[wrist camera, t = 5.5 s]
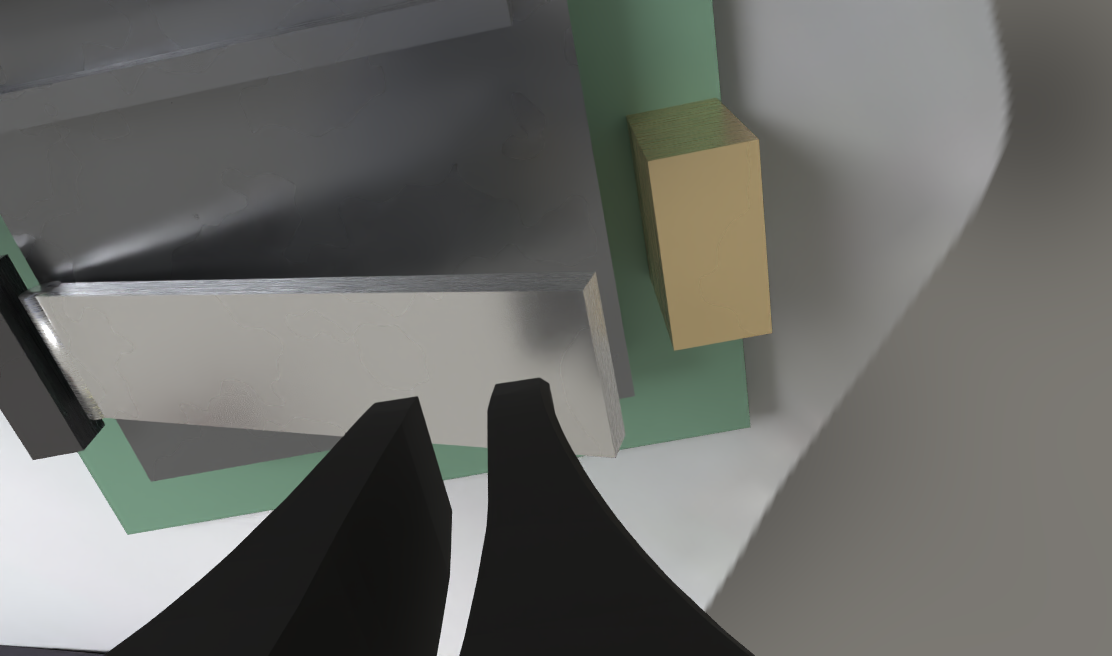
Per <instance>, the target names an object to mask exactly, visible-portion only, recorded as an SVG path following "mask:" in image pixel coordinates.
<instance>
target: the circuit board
mask: <svg viewBox="0 0 1112 656" xmlns="http://www.w3.org/2000/svg"><path fill="white" fill-rule="evenodd" d="M567 5H568V10H569V16H570V22H571V28H572V34H573V39H574V45H575V51H576V57H577V63H578V68H579V74H580V80H581V86H582V92H583V97H584V103H585V109H586V115H587V121H588V126H589V132H590V138H591V144H592V150H593V155H594V161H595V167H596V173H597V179H598V184H599V190H600V196H601V202H602V207H603V213H604V219H605V225H606V231H607V236H608V242H609V248H610V254H611V260H612V265H613V271H614V277H615V283H616V289H617V294H618V300H619V306H620V312H621V318H622V323H623V329H624V335H625V341H626V347H627V352H628V358H629V364H630V370H631V375H632V381H633V387H634V393H635V396H633V397H628V398H622V399H619V402H620V407H621V412H622V418H623V423H624V429H625V434H626V435H625V437H624V440H623V442H622V444H621V446H620V449H619V450H621V449H627V448H633V447H639V446H645V445H650V444H656V443H662V442H668V441H674V440H679V439H685V438H691V437H697V436H703V435H708V434H714V433H720V432H726V431H732V430H737V429H743V428H749V427H750V416H749V405H748V394H747V383H746V372H745V361H744V350H743V339H737V340H731V341H725V342H720V343H714V344H709V345H703V346H698V347H692V348H687V349H681V350H675V351H674V349H673V346H672V343H671V340H670V337H669V334H668V331H667V328H666V325H665V322H664V319H663V315H662V312H661V309H660V306H659V303H658V300H657V297H656V294H655V291H654V288H653V285H652V282H651V279H650V274H649V267H648V260H647V253H646V247H645V240H644V233H643V227H642V220H641V213H640V206H639V200H638V193H637V186H636V179H635V173H634V166H633V159H632V153H631V146H630V139H629V132H628V126H627V119H626V116H627V115H632V114H637V113H642V112H647V111H652V110H657V109H662V108H667V107H672V106H677V105H682V104H687V103H692V102H697V101H702V100H707V99H712V98H717V99H718V100H719V101H720V102H721V94H720V83H719V72H718V61H717V50H716V38H715V27H714V16H713V5H712V0H567ZM6 254H8V256H9V258H10V259H11V261H12V263H13V264H14V266H15V268H16V270H17V271H18V273H19V275H20V277H21V278H22V280H23V282H24V284H25V285H26V287H27V289H30V288H32V287H35V286H37V285H40V284H39V282H38V281H37V279H36V277H35V275H34V273H33V272H32V270H31V268H30V266H29V265H28V263H27V261H26V259H25V257H24V256H23V254H22V252H21V250H20V249H19V247H18V245H17V243H16V242H15V240H14V238H13V236H12V234H11V233H10V231H9V229H8V227H7V226H6V224H5V222H4V220H3V218H2V217H1V215H0V256H1V255H6ZM102 420H103V421H104V423H105V426H104V427H103V428H102V429H101V431H100V432H99V433H98V434H97V435H96V437H95V438H94V439H93V440H92V441H91V443H90V444H89V445H88V446H87V447H86V449H85V450H84V451H80V452H78V454H79V455H80V457H81V459H82V460H83V462H84V464H85V465H86V467H87V469H88V470H89V472H90V473H91V475H92V477H93V478H94V480H95V482H96V483H97V485H98V487H99V488H100V490H101V492H102V493H103V495H104V497H105V498H106V500H107V501H108V503H109V505H110V506H111V508H112V510H113V511H114V513H115V515H116V516H117V518H118V520H119V521H120V523H121V525H122V526H123V528H124V530H125V531H126V533H127V534H128V535H129V534H135V533H141V532H146V531H152V530H158V529H164V528H170V527H175V526H181V525H187V524H193V523H199V522H204V521H210V520H216V519H222V518H228V517H233V516H239V515H245V514H251V513H256V512H262V511H268V510H274V509H276V508H277V507H278V506H279V505H280V504H281V503H282V502H283V501H284V500H285V499H286V498H287V497H288V496H289V495H290V494H291V492H292V491H293V490H294V489H295V488H296V487H297V486H298V485H299V484H300V483H301V482H302V481H303V479H304V478H305V477H306V476H307V475H308V474H309V473H310V472H311V471H312V470H313V469H314V468H315V466H316V465H317V464H318V463H319V462H320V461H321V460H322V459H323V458H324V457H325V456H326V455H327V453H328V452H329V451H330V450H328V451H323V452H317V453H311V454H306V455H300V456H294V457H289V458H283V459H277V460H272V461H266V462H260V463H255V464H249V465H243V466H238V467H232V468H227V469H221V470H215V471H210V472H204V473H198V474H193V475H187V476H181V477H176V478H170V479H164V480H159V481H153V482H151V481H150V479H149V478H148V476H147V474H146V472H145V470H144V469H143V467H142V465H141V463H140V462H139V460H138V458H137V456H136V455H135V453H134V451H133V449H132V447H131V446H130V444H129V442H128V440H127V439H126V437H125V435H124V433H123V431H122V430H121V428H120V426H119V424H118V423H117V421H116V419H113V418H103V419H102ZM432 445H433V448H434V452H435V455H436V458H437V462H438V465H439V469H440V472H441V475H442V479H443V480H448V479H453V478H459V477H465V476H471V475H477V474H482V473H488V448H483V447H471V446H458V445H445V444H432ZM581 456H586V455H576V457H581Z"/></svg>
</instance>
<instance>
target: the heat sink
mask: <svg viewBox="0 0 1112 656" xmlns="http://www.w3.org/2000/svg"><path fill="white" fill-rule="evenodd" d="M626 119H627V126H628V132H629V139H630V146H631V153H632V159H633V166H634V173H635V179H636V186H637V193H638V200H639V206H640V213H641V220H642V227H643V233H644V240H645V247H646V253H647V260H648V267H649V274H650V279H651V282H652V285H653V288H654V291H655V294H656V297H657V300H658V303H659V306H660V309H661V312H662V315H663V319H664V322H665V325H666V328H667V331H668V334H669V337H670V340H671V343H672V346H673V349H674V351H675V350H681V349H687V348H692V347H698V346H703V345H709V344H714V343H720V342H725V341H731V340H737V339H742V338H748V337H753V336H759V335H764V334H770V333H772V323H771V308H770V293H769V279H768V264H767V250H766V235H765V221H764V206H763V192H762V177H761V162H760V148H759V139H758V138H757V137H756V136H755V135H754V134H753V133H752V132H751V131H750V130H749V129H748V128H747V127H746V126H745V125H744V124H743V123H742V122H741V121H740V120H739V119H738V118H736V117H735V116H734V115H733V114H732V113H731V112H730V111H729V110H728V109H727V108H726V107H725V106H724V105H723V104H722V103H721V102H720V101H719V100H718V99H717V98H712V99H707V100H702V101H697V102H692V103H687V104H682V105H677V106H672V107H667V108H662V109H657V110H652V111H647V112H642V113H637V114H632V115H627V116H626ZM0 215H1V217H2V218H3V220H4V222H5V224H6V226H7V227H8V229H9V231H10V233H11V234H12V236H13V238H14V240H15V242H16V243H17V245H18V247H19V249H20V250H21V252H22V254H23V256H24V257H25V259H26V261H27V263H28V265H29V266H30V268H31V270H32V272H33V273H34V275H35V277H36V279H37V281H38V282H39V284H43V283H47V282H52V281H60V282H61V283H82V282H130V281H177V280H225V279H273V278H320V277H368V276H416V275H463V274H511V273H558V272H596V277H597V282H598V288H599V293H600V299H601V304H602V310H603V315H604V320H605V326H606V331H607V337H608V342H609V347H610V353H611V358H612V364H613V369H614V374H615V380H616V385H617V391H618V396H619V399H622V398H628V397H633V396H635V393H634V387H633V381H632V375H631V370H630V364H629V358H628V352H627V347H626V341H625V335H624V329H623V323H622V318H621V312H620V306H619V300H618V294H617V289H616V283H615V277H614V271H613V265H612V260H611V254H610V248H609V242H608V236H607V231H606V225H605V219H604V213H603V207H602V202H601V196H600V190H599V184H598V179H597V173H596V167H595V161H594V155H593V150H592V144H591V138H590V132H589V126H588V121H587V115H586V109H585V103H584V97H583V92H582V86H581V80H580V74H579V68H578V63H577V57H576V51H575V45H574V39H573V34H572V28H571V22H570V16H569V10H568V5H567V0H0ZM26 290H28V289H27V287H26V285H25V284H24V282H23V280H22V278H21V277H20V275H19V273H18V271H17V270H16V268H15V266H14V264H13V263H12V261H11V259H10V258H9V256H8V254H6V255H1V256H0V409H1V411H2V412H3V414H4V416H5V417H6V419H7V420H8V422H9V423H10V425H11V426H12V428H13V430H14V431H15V433H16V434H17V436H18V437H19V439H20V440H21V442H22V444H23V445H24V447H25V448H26V450H27V451H28V453H29V454H30V456H31V457H32V459H33V460H36V459H41V458H47V457H52V456H58V455H63V454H69V453H74V452H80V451H84V450H85V449H86V447H87V446H88V445H89V444H90V443H91V441H92V440H93V439H94V438H95V437H96V435H97V434H98V433H99V432H100V431H101V429H102V428H103V427H104V426H105V423H104V421H103V420H102V419H99V420H91V419H89V418H88V416H87V415H86V413H85V411H84V409H83V408H82V406H81V404H80V403H79V401H78V399H77V397H76V396H75V394H74V392H73V391H72V389H71V387H70V385H69V384H68V382H67V380H66V379H65V377H64V375H63V373H62V372H61V370H60V368H59V367H58V365H57V363H56V361H55V360H54V358H53V356H52V355H51V353H50V351H49V349H48V348H47V346H46V344H45V343H44V341H43V339H42V337H41V336H40V334H39V332H38V331H37V329H36V327H35V325H34V324H33V322H32V320H31V319H30V317H29V315H28V313H27V312H26V310H25V308H24V307H23V305H22V303H21V301H20V300H19V298H18V297H19V295H20V294H21V293H23V292H25V291H26ZM116 421H117V423H118V424H119V426H120V428H121V430H122V431H123V433H124V435H125V437H126V439H127V440H128V442H129V444H130V446H131V447H132V449H133V451H134V453H135V455H136V456H137V458H138V460H139V462H140V463H141V465H142V467H143V469H144V470H145V472H146V474H147V476H148V478H149V479H150V481H151V482H153V481H159V480H164V479H170V478H176V477H181V476H187V475H193V474H198V473H204V472H210V471H215V470H221V469H227V468H232V467H238V466H243V465H249V464H255V463H260V462H266V461H272V460H277V459H283V458H289V457H294V456H300V455H306V454H311V453H317V452H323V451H328V450H331V449H332V448H333V447H334V446H335V445H336V443H337V442H338V441H339V440H340V439H341V438H342V437H343V436H330V435H317V434H304V433H292V432H279V431H266V430H253V429H240V428H228V427H215V426H202V425H189V424H177V423H164V422H151V421H138V420H125V419H116Z"/></svg>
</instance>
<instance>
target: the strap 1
mask: <svg viewBox="0 0 1112 656" xmlns="http://www.w3.org/2000/svg"><path fill="white" fill-rule="evenodd" d="M18 298H19V300H20V301H21V303H22V305H23V307H24V308H25V310H26V312H27V313H28V315H29V317H30V319H31V320H32V322H33V324H34V325H35V327H36V329H37V331H38V332H39V334H40V336H41V337H42V339H43V341H44V343H45V344H46V346H47V348H48V349H49V351H50V353H51V355H52V356H53V358H54V360H55V361H56V363H57V365H58V367H59V368H60V370H61V372H62V373H63V375H64V377H65V379H66V380H67V382H68V384H69V385H70V387H71V389H72V391H73V392H74V394H75V396H76V397H77V399H78V401H79V403H80V404H81V406H82V408H83V409H84V411H85V413H86V415H87V416H88V418H89V419H91V420H99V419H103V418H113V419H125V420H138V421H151V422H164V423H177V424H189V425H202V426H215V427H228V428H240V429H253V430H266V431H279V432H292V433H304V434H317V435H330V436H344V435H345V433H346V432H347V431H348V430H349V429H350V428H351V427H352V426H353V425H354V423H355V422H356V421H357V420H358V419H359V418H360V417H361V416H362V415H363V414H364V413H365V412H366V411H367V410H368V409H369V408H370V407H371V406H372V405H373V404H374V403H376V402H383V401H389V400H396V399H402V398H409V397H415V396H418V398H419V401H420V405H421V408H422V411H423V415H424V418H425V421H426V425H427V428H428V432H429V435H430V438H431V442H432V444H445V445H458V446H471V447H483V448H487V409H488V406H489V402H490V398H491V395H492V392H493V389H494V387H495V384H499V383H506V382H512V381H519V380H525V379H532V378H538V377H540V378H542V379H543V380H545V381H546V382H548V383H549V384H550V389H551V394H552V399H553V404H554V409H555V414H556V416H557V419H558V421H559V424H560V426H561V428H562V431H563V433H564V435H565V437H566V439H567V441H568V442H569V444H570V446H571V448H572V450H573V451H574V453H575V455H586V456H598V457H611V458H616V455H617V453H618V451H619V449H620V446H621V444H622V442H623V440H624V437H625V435H626V434H625V429H624V423H623V418H622V412H621V407H620V402H619V396H618V391H617V385H616V380H615V374H614V369H613V364H612V358H611V353H610V347H609V342H608V337H607V331H606V326H605V320H604V315H603V310H602V304H601V299H600V293H599V288H598V282H597V277H596V272H558V273H511V274H463V275H416V276H368V277H320V278H273V279H225V280H177V281H130V282H82V283H61V282H60V281H52V282H47V283H43V284H40V285H37V286H35V287H32V288H30V289H28V290H26V291H25V292H23V293H21V294H20V295H19V297H18Z"/></svg>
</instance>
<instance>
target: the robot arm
mask: <svg viewBox="0 0 1112 656" xmlns="http://www.w3.org/2000/svg"><path fill="white" fill-rule="evenodd" d="M487 448H488V514H487V527H486V533H485V539H484V545H483V550H482V556H481V561H480V567H479V573H478V578H477V583H476V588H475V592H474V597H473V601H472V606H471V610H470V615H469V619H468V624H467V628H466V633H465V637H464V641H463V644H462V648H461V652H460V655H459V656H755V655H754V654H752V653H751V652H750V651H749V650H747V649H746V648H745V647H744V646H743V645H741V644H740V643H739V642H738V641H737V640H735V639H734V638H733V637H732V636H731V635H729V634H728V633H727V632H726V631H725V630H724V629H722V628H721V627H720V626H719V625H718V624H717V623H716V622H715V621H714V620H713V619H712V618H711V617H710V616H709V615H708V614H707V613H705V612H704V611H703V610H702V609H701V608H700V607H699V606H698V605H697V604H696V603H695V602H694V601H693V600H692V599H691V598H690V597H688V596H687V595H686V594H685V593H684V592H683V591H682V590H681V589H680V588H679V587H678V586H677V585H676V584H675V583H674V582H673V581H672V580H671V579H670V578H669V577H668V576H667V575H666V574H665V573H664V572H663V571H662V570H661V569H660V568H659V566H658V565H657V564H656V563H655V562H654V561H653V560H652V559H651V558H650V557H649V556H648V554H647V553H646V552H645V551H644V550H643V549H642V548H641V546H640V545H639V544H638V543H637V542H636V540H635V539H634V538H633V537H632V536H631V535H630V533H629V532H628V531H627V530H626V529H625V527H624V526H623V525H622V523H621V522H620V521H619V520H618V518H617V517H616V516H615V514H614V513H613V512H612V510H611V509H610V508H609V506H608V505H607V503H606V502H605V501H604V499H603V498H602V496H601V495H600V493H599V492H598V490H597V489H596V488H595V486H594V485H593V483H592V482H591V480H590V478H589V477H588V475H587V474H586V472H585V471H584V469H583V467H582V466H581V464H580V462H579V460H578V458H577V457H576V455H575V453H574V451H573V450H572V448H571V446H570V444H569V442H568V441H567V439H566V437H565V435H564V433H563V431H562V428H561V426H560V424H559V421H558V419H557V416H556V414H555V409H554V404H553V399H552V394H551V389H550V384H549V383H548V382H546V381H545V380H543V379H542V378H540V377H538V378H532V379H525V380H519V381H512V382H506V383H499V384H495V387H494V389H493V392H492V395H491V398H490V402H489V406H488V409H487ZM451 531H452V509H451V506H450V502H449V499H448V496H447V492H446V489H445V485H444V482H443V479H442V475H441V472H440V469H439V465H438V462H437V458H436V455H435V452H434V448H433V445H432V442H431V438H430V435H429V432H428V428H427V425H426V421H425V418H424V415H423V411H422V408H421V405H420V401H419V398H418V396H415V397H409V398H402V399H396V400H389V401H383V402H376V403H374V404H373V405H372V406H371V407H370V408H369V409H368V410H367V411H366V412H365V413H364V414H363V415H362V416H361V417H360V418H359V419H358V420H357V421H356V422H355V423H354V425H353V426H352V427H351V428H350V429H349V430H348V431H347V432H346V433H345V435H344V436H343V437H342V438H341V439H340V440H339V441H338V442H337V443H336V445H335V446H334V447H333V448H332V449H331V450H330V451H329V452H328V453H327V455H326V456H325V457H324V458H323V459H322V460H321V461H320V462H319V463H318V464H317V465H316V466H315V468H314V469H313V470H312V471H311V472H310V473H309V474H308V475H307V476H306V477H305V478H304V479H303V481H302V482H301V483H300V484H299V485H298V486H297V487H296V488H295V489H294V490H293V491H292V492H291V494H290V495H289V496H288V497H287V498H286V499H285V500H284V501H283V502H282V503H281V504H280V505H279V506H278V507H277V508H276V509H275V510H274V511H273V512H271V513H270V514H269V515H268V516H267V517H266V518H265V519H264V520H263V521H262V522H261V523H260V524H259V525H258V526H257V527H256V528H255V529H254V530H253V531H252V532H251V533H250V534H249V535H248V536H247V537H246V538H245V539H244V540H243V541H242V542H241V543H240V544H239V545H238V546H237V547H236V548H235V549H234V550H233V551H232V552H231V553H230V554H229V555H228V556H226V557H225V558H224V559H223V560H222V561H221V562H220V563H219V564H218V565H217V566H215V567H214V568H213V569H212V570H211V571H210V572H209V573H207V574H206V575H205V576H204V577H203V578H202V579H201V580H200V581H198V582H197V583H196V584H195V585H194V586H192V587H191V588H190V589H189V590H187V591H186V592H185V593H184V594H183V595H181V596H180V597H179V598H178V599H177V600H175V601H174V602H173V603H172V604H171V605H169V606H168V607H167V608H166V609H165V610H163V611H162V612H161V613H160V614H158V615H157V616H156V617H155V618H153V619H152V620H151V621H150V622H148V623H147V624H146V625H144V626H143V627H142V628H140V629H139V630H138V631H136V632H135V633H134V634H132V635H131V636H129V637H128V638H127V639H125V640H124V641H123V642H121V643H120V644H119V645H117V646H116V647H114V648H113V649H112V650H110V651H109V652H108V653H106V654H105V655H104V656H437V651H438V645H439V639H440V634H441V628H442V622H443V615H444V609H445V603H446V597H447V591H448V584H449V578H450V560H451Z"/></svg>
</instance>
